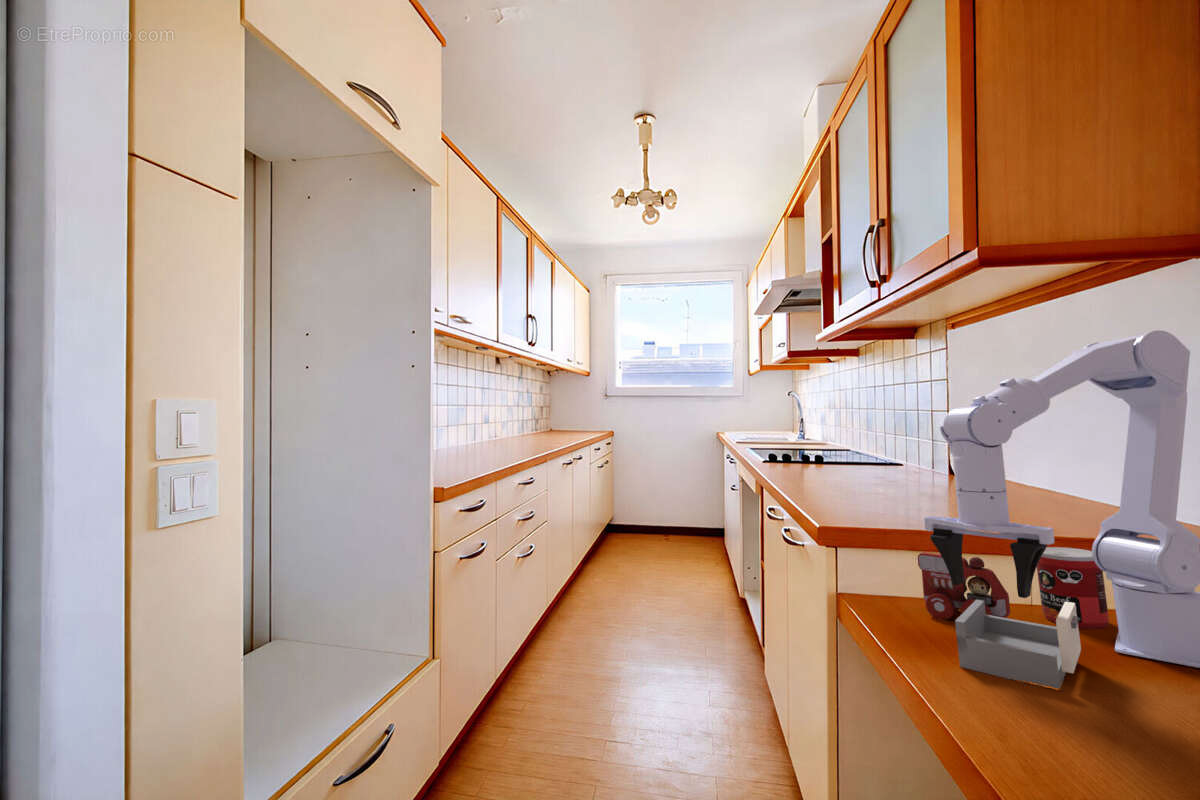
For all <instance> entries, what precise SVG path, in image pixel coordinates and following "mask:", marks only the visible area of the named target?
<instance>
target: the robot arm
mask: <svg viewBox="0 0 1200 800" xmlns="http://www.w3.org/2000/svg"><path fill="white" fill-rule="evenodd" d="M1190 356H1191V351H1190V349H1188V348H1187V347H1186V346H1185V344H1184V343H1182V342H1181V340H1179V338H1178V337H1176V336H1175V335H1174V334H1172V333H1171V332H1169V331H1165V330H1152V331H1149V332H1146V333H1144V334H1143V333H1142V334H1138V335H1133V336H1128V337H1124V338H1123V337H1122V338H1119V339H1113V340H1108V341H1107V340H1106V341H1102V342H1093V343H1088V344H1087V345H1085V346H1084V347H1083V348H1079V349H1076V350H1074V351H1072V353H1071V354H1070V355H1069V356H1067V357H1066V358H1064V359H1063V360H1060V361H1059V362H1057V363H1056V364H1055V365H1053V366H1052V367H1050V368H1048V369H1046V370H1045V371H1044V372H1042V373H1040V374H1038V375H1037V376H1036V377H1034V378H1032V379H1028V378H1023V377H1022V378H1016V379H1015V378H1007V379H1004V380H1001V381H1000V382H999V383H998V384H999V386H1000V387H999V388H997V389H995V390H993V391H991V392H990V393H988V394H986V395H979V396H976V397H974V398H973V399H972V403H971V404H970V406H960V407H955V408H952V410H950V411H949V412H948V413H947V414H946V416H945V418H944V420H943V424H942V425H941V426H940V427H939V430H940V434H941V436H942V438H943V440H945V442H946V443H947V444H948V446H949V451H950V454H952V461H953V472H954V483H955V493H956V505H957V516H958V517H943V516H931V515H930V516H925V517H923V519H924V520H923V521H924V530H925V531H928V532H932V534H930V536H929V538H930V541H931V542H932V544H933V545H934V546H935V548H936V549H937V551H938V554H941V556H942V558H943V560H944V562H945V564H946V566H947V569H948V571H949V574H950V577H951V580H952V584H953V585H960V584H963V583H964V571H963V563H962V557H963V541H964V540H963V539H964V535H970V536H978V537H987V538H995V539H996V538H997V539H1006V540H1013V541H1017V542H1011V543H1010V544H1009V547H1010V550H1011V554H1012V559H1013V563H1014V567H1015V568H1014V569H1015V573H1016V589H1017V596H1018V598H1020V599H1021V598H1022V599H1026V598H1028V597H1030V596H1031V595H1032V593H1031V591H1032V585H1033V579H1034V577H1035V576H1034V575H1035V573H1036V571H1037V565H1038V562H1039V560H1040V558H1041V556H1042V554H1043V553H1044V551H1045V549H1046V547H1048V546H1051V545H1053V544H1054V543H1055V532H1054V528H1053V527H1047V526H1038V525H1031V524H1023V523H1017V522H1012V521H1011V522H1010V514H1009V502H1008V493H1007V484H1006V483H1007V482H1006V471H1005V461H1004V452H1003V450H1004V449H1003V444H1006V443H1008V442H1009V440H1010V439H1011V437H1012V435H1013V431H1014V430H1016V429H1017V428H1018V427H1021V426H1022V425H1024V424H1025V423H1028V422H1029V421H1031V420H1033V419H1035V418H1036V417H1038V416H1040V415H1042V414H1043V413H1045V412H1046V411H1048V410H1049V408H1050V404H1051V399H1053V398H1054V397H1056V396H1058V395H1060V394H1062V393H1064V392H1066V391H1068V390H1071V389H1072V388H1074V387H1076V386H1079V385H1080V384H1083V383H1084V382H1086V381H1088V382H1090V383H1092V384H1093V385H1095V386H1097V387H1099V388H1100V389H1101V390H1104V391H1105V392H1107V393H1108V394H1110V395H1112V396H1113V397H1115V398H1117V399H1121V400H1123V401H1124V402H1125V403H1126V404H1127V405H1128V406H1129V415H1128V416H1129V417H1128V426H1127V434H1126V436H1127V437H1126V444H1125V445H1126V446H1125V455H1124V464H1123V465H1124V466H1123V471H1122V473H1123V475H1122V483H1121V493H1120V503H1119V510H1118V511H1117V512H1116V513H1115V514H1112V515H1111V516H1108V517H1107V518H1105V519H1103V521H1101V524H1100V530H1099V533H1098V535H1097V536H1096V538H1095V539H1094V541H1093V543H1092V547H1091V551H1092V556H1093V559H1094V561H1095V563H1096V565H1097V566H1098V567H1099V568H1100V569H1101V570H1102V571H1103V573H1105V577H1106V578H1105V579H1106V580H1108V581H1111V585H1112V591H1113V592H1112V593H1113V600H1114V606H1115V607H1114V608H1115V614H1116V620H1117V628H1118V630H1117V631H1118V632H1117V634H1116V638H1115V644H1114V651H1115V652H1117V653H1119V654H1124V655H1131V656H1135V657H1140V658H1146V659H1151V660H1156V661H1162V662H1166V663H1172V664H1176V665H1177V664H1178V665H1183V666H1187V667H1193V668H1199V669H1200V591H1195V590H1196V588H1197V587H1198V586H1199V585H1200V537H1199V536H1198V535H1197V534H1195V533H1194V532H1193V531H1191V530H1189V529H1188V528H1187V527H1186V526H1185V525H1183V524H1182V523H1181V522H1180V521H1178V520H1177V516H1178V515H1177V514H1178V505H1179V503H1178V501H1179V491H1180V481H1181V471H1182V459H1183V447H1184V441H1185V440H1184V438H1185V426H1186V416H1187V415H1186V414H1187V406H1188V392H1187V390H1188V389H1187V388H1188V379H1189V366H1190V358H1191V357H1190ZM1141 535H1144V536H1145V535H1147V536H1153V537H1156V538H1155V539H1154V538H1148V537H1144V536H1143V537H1142V536H1141Z"/></svg>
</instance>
